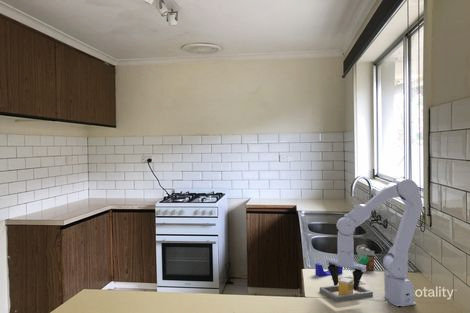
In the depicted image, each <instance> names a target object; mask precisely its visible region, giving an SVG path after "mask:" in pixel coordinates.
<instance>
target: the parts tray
mask: <svg viewBox="0 0 470 313" xmlns="http://www.w3.org/2000/svg"><path fill="white" fill-rule="evenodd" d="M353 289H354V283H353ZM335 291H339V284H338V285H336V286H335V285H329V286H321V287H319V293H321V294H323V295H324V296H325V297H327V298H329V299H331V301H333V302H335V303H336V302H343V301H350V300H357V299H363V298H370V297H373V296H374V291H373V290H372V291H371V289H370V290H369V289H368V288H366V287H364V286H363V285H359V286H358V290H357V291H359V292H353V294H347V295H335V294H334V293H332V292H335Z"/></svg>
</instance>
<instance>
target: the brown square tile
mask: <svg viewBox="0 0 470 313" xmlns="http://www.w3.org/2000/svg"><path fill="white" fill-rule="evenodd" d="M343 277H344V278H348V279H353V283H354V278H353V276H351V275H350V276H349V275H348V276H343ZM343 277H338V284H339V280H340V279H342V278H343ZM331 280H332V281H333V279H332V278H331ZM359 285H360V286H363V285H366V282H363V281H361V280H360V282H359Z"/></svg>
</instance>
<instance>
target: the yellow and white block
mask: <svg viewBox="0 0 470 313" xmlns="http://www.w3.org/2000/svg"><path fill="white" fill-rule="evenodd" d="M344 277H345V276H343V278H342V279H340V280H339V283H338V285H339V290H338V296H340V295H347V294H354V288H353V279H348V278H344Z"/></svg>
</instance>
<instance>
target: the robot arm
mask: <svg viewBox="0 0 470 313" xmlns="http://www.w3.org/2000/svg"><path fill="white" fill-rule="evenodd" d="M420 191H421V190H420V187H419V186H418V184H417V183H416V182H415V181H414V180H413V179H410V178H402V177H398V178H396V179H394V180H393V181H392V182H390V183H388V184H387V185H385V186H384V187H383V188H382V189H381V190H379V191H378V192H377V194H375V195H373V197H372V198H370V200H368V201H367V202H366V203H365V204H361V203H359V204H358V205H357V204H355V205H354V206H353V209H351V211H349V212H348V213H345V214H344V215H343V217H341V218H339V219H337V222H336V224H335V226H336V229H337V230H338V231H337V243H336V244H337V259H336V258H326V260H325V263H326V265H328V266H327V271H328V270H329V271H330V273H331V275H330V276H331V280H332V279H333V280H332V283H333V286H336V285H339V283H338V278H339V274H338V270H339V266H340V267H342V268H344V269H345V268H346V269H349V270H350V269H351V270H353V271H352V272H351V273H352V277H353V278H354V288H353V291H354V292H355V291H359V290H358V286H359V282H360V281H361V279H362V276H363V275H364V273H365V272H366V271H367V269H366V265H361V264H358V262H355V259H354V255H355V253H354V252H355V251H354V248H355V247H354V244H355V243H354V242H355V241H354V233H355V230H356V228H358V227H359V226H360V225H362V224H363V223H364V222H365V221H367V220H368V219H369V218H371V216H372V211H373V210H375V209H376V208H378V207H379V206H381V205H382V204H383V203H385V202H386V201H388V200H389V199H393V198H400V200H401V201H402V203H403V204H404V205H405V207H404V211H403V213H402V217H401V220H400V222H399V225H398V228H397V231H396V232H397V233H396V235H395V237H394V242H393V244H392V246H391V247H390V248H389V250H388V253H387V254H386V255H384V257H383V259H382V260H383V261H382V265H383V266H384V268H385V270H384V275H383V276H384V280H383V281H384V297H385V302H388V303H390V304H392V305H394V306H395V307H398V306H402V307H407V306H413V305H417V303H416V302H415V286H414V283H413V282H412V281H411V280H409V279H408V278H407V274H408V272H409V267H408V264H409V263H408V262H409V250H410V246H411V245H412V244H411V243H412V240H413V237H414V234H415V232H416V228H417V225H418V223H419V219H420V216H421V212H422V210H423V206H424V205H423V204H424V203H423V200H422V196H421V193H420Z"/></svg>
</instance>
